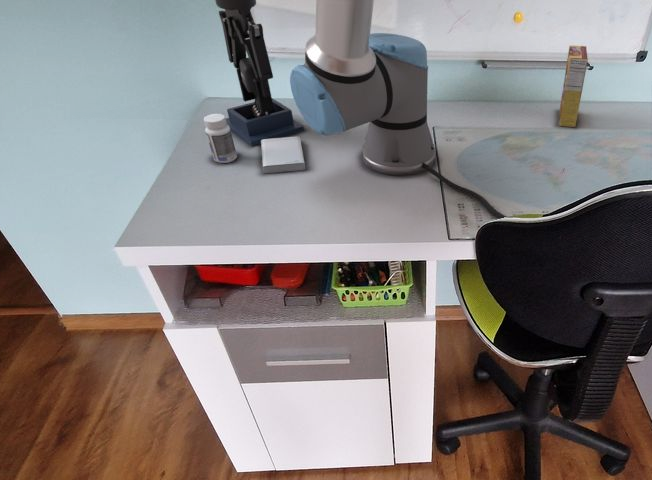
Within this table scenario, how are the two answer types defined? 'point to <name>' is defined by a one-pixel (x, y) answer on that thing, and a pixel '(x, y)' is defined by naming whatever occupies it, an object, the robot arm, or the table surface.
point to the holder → (262, 123)
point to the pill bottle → (220, 138)
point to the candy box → (573, 85)
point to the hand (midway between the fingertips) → (258, 105)
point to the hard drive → (282, 154)
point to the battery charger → (250, 84)
